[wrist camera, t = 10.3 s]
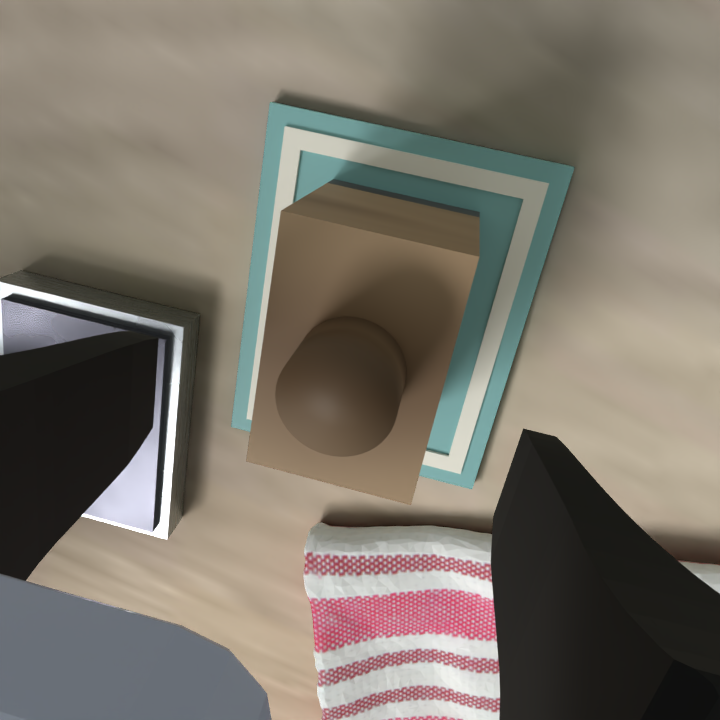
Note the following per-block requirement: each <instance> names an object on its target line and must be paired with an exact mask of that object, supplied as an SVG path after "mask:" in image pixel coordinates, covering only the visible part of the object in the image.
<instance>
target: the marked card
mask: <svg viewBox="0 0 720 720" xmlns="http://www.w3.org/2000/svg"><path fill="white" fill-rule="evenodd" d="M574 168H575V167H573V166H570V165H565V164H560V163H556V162H551V161H546V160H542V159H537V158H532V157H528V156H523V155H518V154H514V153H509V152H504V151H500V150H495V149H490V148H486V147H481V146H476V145H472V144H467V143H462V142H458V141H453V140H448V139H444V138H439V137H434V136H430V135H425V134H420V133H416V132H411V131H406V130H402V129H397V128H392V127H388V126H383V125H379V124H374V123H369V122H365V121H360V120H355V119H351V118H346V117H341V116H337V115H332V114H327V113H323V112H318V111H313V110H309V109H304V108H299V107H295V106H290V105H285V104H281V103H276V102H270V106H269V115H268V123H267V131H266V140H265V148H264V156H263V165H262V173H261V181H260V190H259V198H258V206H257V215H256V223H255V232H254V240H253V248H252V257H251V265H250V273H249V282H248V290H247V298H246V307H245V315H244V323H243V332H242V340H241V348H240V357H239V365H238V374H237V382H236V390H235V399H234V407H233V415H232V424H231V427H234V428H238V429H241V430H245V431H249V432H250V430H251V423H252V415H253V408H254V401H255V394H256V387H257V379H258V372H259V365H260V358H261V350H262V343H263V336H264V329H265V322H266V314H267V307H268V300H269V293H270V285H271V278H272V271H273V264H274V257H275V249H276V242H277V235H278V228H279V220H280V213H281V210H283V209H284V208H286V207H288V206H289V205H291V204H293V203H294V202H296V201H298V200H299V199H301V198H303V197H304V196H306V195H308V194H309V193H311V192H313V191H314V190H316V189H318V188H319V187H321V186H323V185H324V184H326V183H328V182H329V181H331V180H333V179H336V180H341V181H345V182H349V183H354V184H358V185H363V186H367V187H372V188H376V189H380V190H385V191H389V192H394V193H398V194H402V195H407V196H411V197H416V198H420V199H425V200H429V201H433V202H438V203H442V204H447V205H451V206H455V207H460V208H464V209H469V210H473V211H478V212H480V257H479V261H478V264H477V268H476V271H475V275H474V279H473V282H472V286H471V289H470V293H469V297H468V300H467V304H466V307H465V311H464V315H463V318H462V322H461V326H460V329H459V333H458V336H457V340H456V344H455V347H454V351H453V354H452V358H451V362H450V365H449V369H448V372H447V376H446V380H445V383H444V387H443V391H442V394H441V398H440V401H439V405H438V409H437V412H436V416H435V419H434V423H433V427H432V430H431V434H430V437H429V441H428V445H427V448H426V452H425V456H424V459H423V463H422V466H421V470H420V474H419V476H422V477H426V478H430V479H434V480H438V481H442V482H446V483H449V484H453V485H457V486H461V487H465V488H469V489H472V488H473V485H474V482H475V478H476V475H477V472H478V469H479V466H480V463H481V460H482V456H483V453H484V450H485V447H486V444H487V441H488V438H489V435H490V431H491V428H492V425H493V422H494V419H495V416H496V413H497V409H498V406H499V403H500V400H501V397H502V394H503V391H504V387H505V384H506V381H507V378H508V375H509V372H510V369H511V365H512V362H513V359H514V356H515V353H516V350H517V347H518V343H519V340H520V337H521V334H522V331H523V328H524V325H525V321H526V318H527V315H528V312H529V309H530V306H531V303H532V300H533V296H534V293H535V290H536V287H537V284H538V281H539V278H540V274H541V271H542V268H543V265H544V262H545V259H546V256H547V252H548V249H549V246H550V243H551V240H552V237H553V234H554V230H555V227H556V224H557V221H558V218H559V215H560V212H561V208H562V205H563V202H564V199H565V196H566V193H567V190H568V186H569V183H570V180H571V177H572V174H573V171H574Z"/></svg>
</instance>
